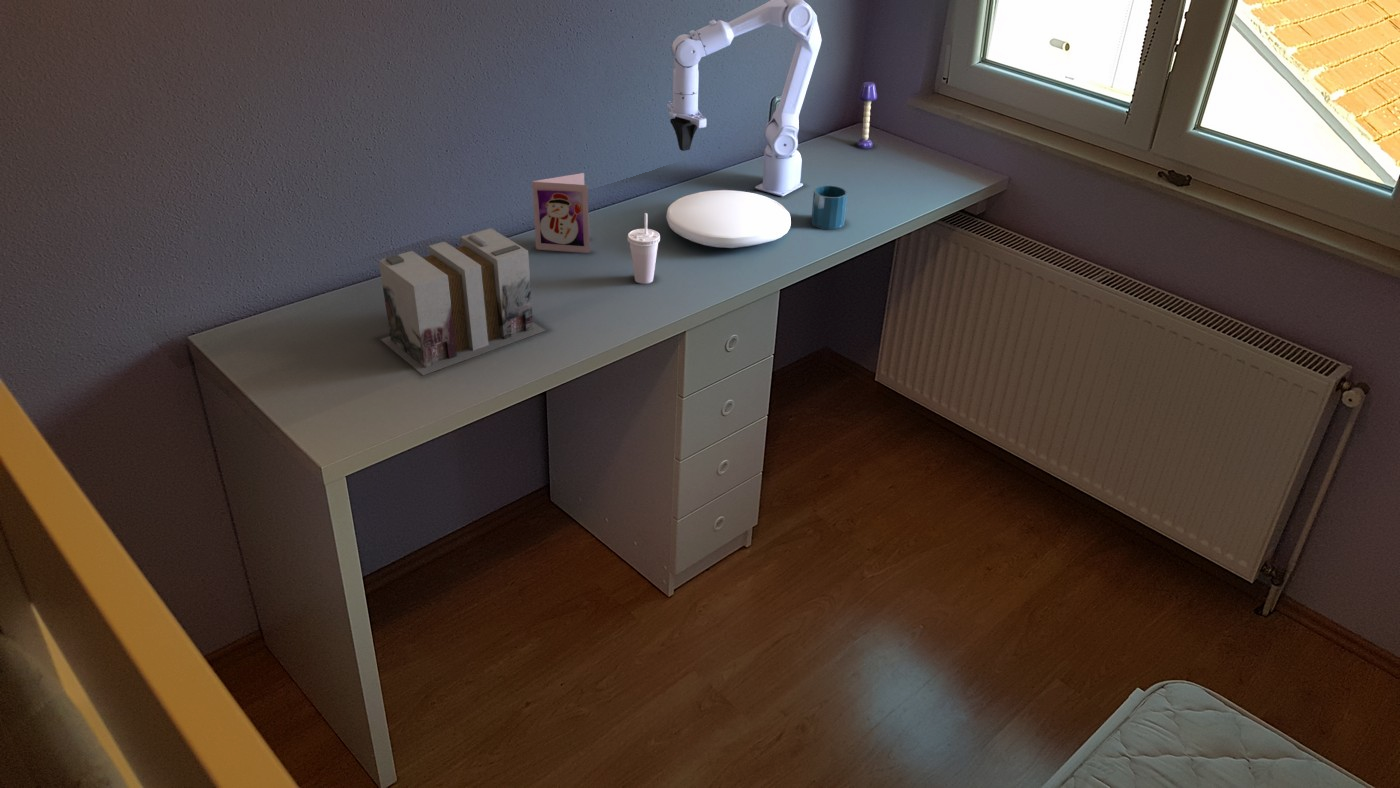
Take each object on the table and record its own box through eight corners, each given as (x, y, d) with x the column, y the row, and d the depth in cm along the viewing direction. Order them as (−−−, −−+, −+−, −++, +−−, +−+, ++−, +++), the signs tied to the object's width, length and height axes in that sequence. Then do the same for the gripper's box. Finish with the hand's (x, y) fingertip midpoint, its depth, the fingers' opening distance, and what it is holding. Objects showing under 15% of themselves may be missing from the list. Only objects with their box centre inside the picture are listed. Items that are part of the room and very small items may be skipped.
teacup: (822, 214, 244) (825, 182, 240) (850, 222, 241) (853, 190, 237) (805, 223, 239) (807, 192, 235) (833, 232, 236) (836, 200, 232)
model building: (379, 339, 192) (366, 256, 183) (500, 299, 206) (493, 220, 197) (423, 375, 182) (411, 289, 173) (546, 330, 196) (541, 249, 187)
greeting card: (535, 250, 224) (530, 183, 216) (543, 236, 231) (539, 169, 222) (588, 254, 223) (586, 186, 215) (595, 240, 230) (593, 173, 222)
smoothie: (666, 280, 214) (667, 215, 207) (642, 289, 210) (641, 223, 203) (645, 269, 218) (645, 205, 211) (621, 278, 214) (620, 213, 207)
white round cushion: (719, 177, 249) (815, 207, 236) (716, 204, 252) (811, 235, 239) (641, 200, 229) (743, 234, 215) (639, 229, 232) (739, 264, 218)
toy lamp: (856, 149, 282) (862, 85, 273) (852, 143, 285) (858, 80, 276) (874, 148, 282) (881, 85, 273) (870, 142, 286) (877, 80, 277)
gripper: (653, 85, 244) (653, 143, 251) (688, 102, 234) (687, 162, 241) (679, 80, 247) (679, 138, 255) (714, 97, 237) (713, 156, 245)
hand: (684, 149), depth 248 cm, fingers closed
